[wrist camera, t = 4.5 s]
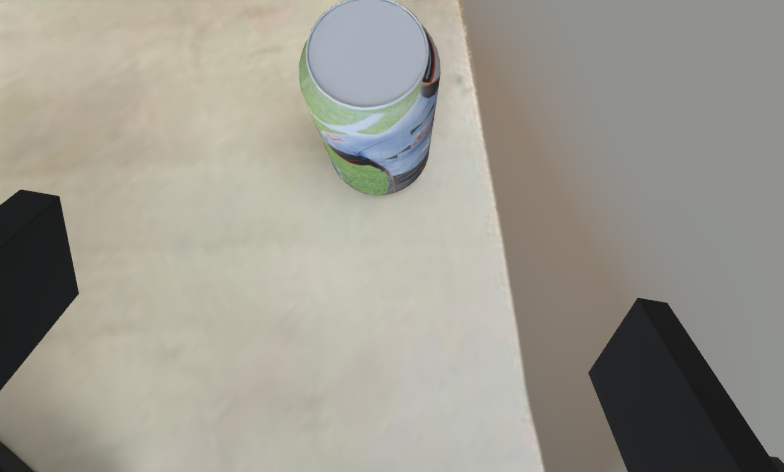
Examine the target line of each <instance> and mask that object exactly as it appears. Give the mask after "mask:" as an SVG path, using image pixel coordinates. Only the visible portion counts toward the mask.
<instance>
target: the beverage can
mask: <svg viewBox="0 0 784 472" xmlns="http://www.w3.org/2000/svg"><path fill="white" fill-rule="evenodd" d="M299 80H300V85H301V90H302V93H303V95H304V98H305V100H306V103H307V105H308V107H309V110H310V112H311V114H312V117H313V119H314V121H315V124H316V126H317V128H318V131H319V133H320V135H321V138H322V140H323V142H324V145H325V147H326V149H327V151H328V154H329V156H330V158H331V161H332V163H333V165H334V168H335V170H336V171H337V173H338V174H339V176H340V177H341V178H342V179H343V180H344V181H345V182H346V183H347V184H348V185H350V186H351V187H352V188H354V189H356V190H358V191H360V192H364V193H367V194H373V195H386V194H391V193H395V192H398V191H400V190H402V189H404V188H406V187H407V186H409V185H410V184H411V183H413V182H414V181H415V180H416V179H417V178H418V176H419V175H420V174H421V173H422V171H423V169H424V167H425V165H426V162H427V159H428V154H429V147H430V141H431V134H432V127H433V121H434V114H435V107H436V100H437V94H438V87H439V80H440V60H439V56H438V52H437V48H436V46H435V44H434V42H433V39H432V37H431V36H430V35H429V33H428V32H427V30H426V29H425V28H424V27H423V26H422V25H421V23H420V22H419V21H418V19H417V18H416V16H414V15H413V14H412V13H411V12H410V11H409V10H408V9H407V8H405V7H404V6H402V5H401V4H399V3H397V2H395V1H393V0H344V1H342V2H340V3H338V4H336V5H334V6H332V7H331V8H330V9H328V10H327V11H326V12H325V13H323V15H322V16H321V17H320V18H319V19H318V20H317V21H316V23H315V25H314V26H313V28H312V29H311V32H310V34H309V37H308V39H307V41H306V43H305V46H304V48H303V51H302V53H301V58H300V63H299Z"/></svg>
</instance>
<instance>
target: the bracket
mask: <svg viewBox="0 0 784 472" xmlns="http://www.w3.org/2000/svg"><path fill="white" fill-rule="evenodd" d="M0 472H33V471H32V470H31V469H30V468H29V467H27V466H26V465H25V464H24V463H23V462H22V461H21V460H20V459H19V458H18V457H16V456H15V455H14V454H13V453H12V452H11V451H10V450H9V449H8V448H7V447H5V446H4V445H3V444H2V443H1V442H0Z"/></svg>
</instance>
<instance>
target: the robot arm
mask: <svg viewBox="0 0 784 472" xmlns="http://www.w3.org/2000/svg"><path fill="white" fill-rule="evenodd" d="M78 294H79V292H78V287H77V282H76V277H75V272H74V267H73V262H72V257H71V252H70V247H69V242H68V237H67V232H66V227H65V222H64V217H63V212H62V207H61V202H60V197H59V196H55V195H49V194H44V193H38V192H32V191H27V190H19V191H18V192H17V193H15V194H14V195H13V196H11V197H10V198H9V199H8V200H6V201H5V202H4V203H2V204H1V205H0V390H1V389H2V388H3V387H4V385H5V384H6V383H7V382H8V381H9V379H10V378H11V377H12V376H13V374H14V373H15V372H16V371H17V369H18V368H19V367H20V366H21V364H22V363H23V362H24V361H25V360H26V358H27V357H28V356H29V355H30V353H31V352H32V351H33V350H34V348H35V347H36V346H37V345H38V343H39V342H40V341H41V340H42V338H43V337H44V336H45V335H46V334H47V332H48V331H49V330H50V329H51V327H52V326H53V325H54V324H55V322H56V321H57V320H58V319H59V317H60V316H61V315H62V314H63V313H64V311H65V310H66V309H67V308H68V306H69V305H70V304H71V303H72V301H73V300H74V299H75V298H76V296H77V295H78ZM589 376H590V378H591V381H592V383H593V386H594V388H595V391H596V393H597V396H598V398H599V401H600V403H601V406H602V408H603V411H604V413H605V416H606V418H607V421H608V423H609V426H610V428H611V431H612V433H613V436H614V438H615V441H616V443H617V446H618V448H619V451H620V453H621V456H622V458H623V461H624V463H625V466H626V468H627V471H628V472H784V463H783V462H782V461H781V460H780V459H779V458H778V457H770V456H769V455H768V454H767V452H766V451H765V449H764V448H763V446H762V445H761V443H760V442H759V440H758V439H757V437H756V436H755V434H754V433H753V431H752V430H751V428H750V427H749V425H748V424H747V422H746V421H745V419H744V418H743V416H742V415H741V413H740V412H739V410H738V409H737V407H736V406H735V404H734V403H733V401H732V400H731V398H730V397H729V395H728V394H727V392H726V391H725V389H724V388H723V386H722V385H721V383H720V382H719V380H718V379H717V377H716V376H715V374H714V373H713V371H712V370H711V368H710V367H709V365H708V364H707V362H706V360H705V359H704V358H703V356H702V355H701V353H700V351H699V350H698V348H697V347H696V346H695V344H694V342H693V341H692V339H691V338H690V337H689V335H688V334H687V332H686V330H685V329H684V327H683V326H682V324H681V323H680V321H679V320H678V318H677V317H676V315H675V314H674V312H673V311H672V309H671V308H670V306H669V305H668V303H665V302H659V301H653V300H647V299H641V298H637V300H636V301H635V303H634V304H633V306H632V308H631V309H630V311H629V312H628V314H627V315H626V317H625V318H624V320H623V321H622V323H621V324H620V326H619V327H618V329H617V330H616V332H615V333H614V335H613V336H612V338H611V339H610V341H609V342H608V344H607V345H606V347H605V348H604V350H603V352H602V353H601V354H600V356H599V358H598V359H597V360H596V362H595V364H594V365H593V367H592V368H591V370H590V371H589Z"/></svg>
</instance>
